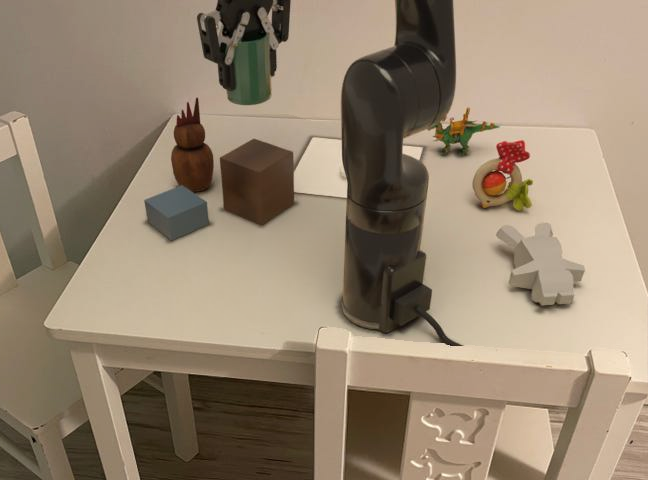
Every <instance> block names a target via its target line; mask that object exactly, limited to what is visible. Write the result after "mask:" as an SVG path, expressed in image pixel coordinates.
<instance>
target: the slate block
mask: <svg viewBox="0 0 648 480" xmlns="http://www.w3.org/2000/svg"><path fill="white" fill-rule="evenodd" d="M143 203H144V207H145V208H144V209H145V213H146V220H147V223H148V224H149V225H151V226H152V227H153V228H154V229H156V230H157V231H158V232H159V233H161V234H162V235H163V236H165V237H166V238H168V239H169V240H170V241H174V240H176V239H179V238H181V237H183V236H186V235H188V234H190V233H192V232H195V231H197V230H199V229H201V228H204V227H207V226H208V225H210V219H209V210H208V209H209V208H208V202H207V201H206V200H205V199H204V198H202V197H200V196H199V195H198V194H197V193H194V192H193V191H190V190H189V189H187V188H186V187H184V186H183V185H181V186H179V185H178V186H176V187H173V188H170V189H168V190H166V191H163V192H161V193H158V194H156V195H153V196H151V197H148V198H146V199H144V200H143Z"/></svg>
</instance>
